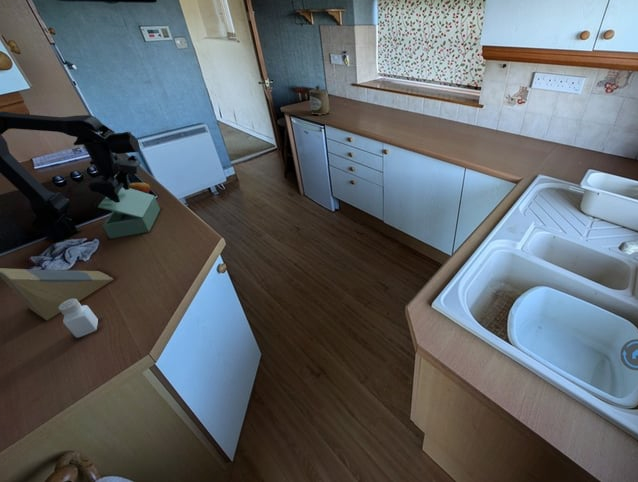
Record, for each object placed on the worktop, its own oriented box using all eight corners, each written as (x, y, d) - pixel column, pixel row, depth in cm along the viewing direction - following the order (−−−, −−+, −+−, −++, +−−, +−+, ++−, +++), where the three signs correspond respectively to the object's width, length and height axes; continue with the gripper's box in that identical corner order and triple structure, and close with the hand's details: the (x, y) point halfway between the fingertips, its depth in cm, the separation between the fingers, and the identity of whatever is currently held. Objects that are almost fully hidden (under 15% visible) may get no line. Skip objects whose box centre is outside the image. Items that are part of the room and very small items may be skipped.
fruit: (122, 202, 120) (120, 182, 119) (134, 201, 127) (131, 183, 127) (145, 199, 121) (142, 180, 121) (155, 199, 129) (153, 181, 129)
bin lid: (97, 207, 96) (102, 195, 95) (115, 185, 109) (120, 174, 107) (142, 218, 103) (147, 207, 102) (154, 196, 115) (158, 186, 114)
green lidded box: (110, 238, 102) (102, 225, 99) (125, 214, 115) (119, 202, 112) (149, 231, 106) (142, 218, 103) (160, 209, 118) (154, 197, 115)
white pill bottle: (97, 331, 72) (77, 305, 67) (76, 339, 70) (53, 314, 65) (99, 319, 75) (80, 294, 70) (78, 327, 73) (57, 302, 68)
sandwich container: (115, 279, 86) (89, 240, 79) (47, 321, 74) (9, 279, 67) (98, 270, 89) (72, 231, 82) (30, 309, 77) (-8, 268, 70)
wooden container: (307, 113, 241) (304, 85, 230) (322, 109, 251) (319, 83, 240) (319, 116, 233) (316, 88, 222) (333, 113, 243) (331, 85, 231)
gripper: (121, 163, 91) (141, 204, 99) (140, 142, 106) (156, 180, 114) (76, 168, 88) (101, 211, 96) (102, 146, 103) (121, 185, 111)
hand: (122, 195), depth 104 cm, fingers open, 9 cm apart
